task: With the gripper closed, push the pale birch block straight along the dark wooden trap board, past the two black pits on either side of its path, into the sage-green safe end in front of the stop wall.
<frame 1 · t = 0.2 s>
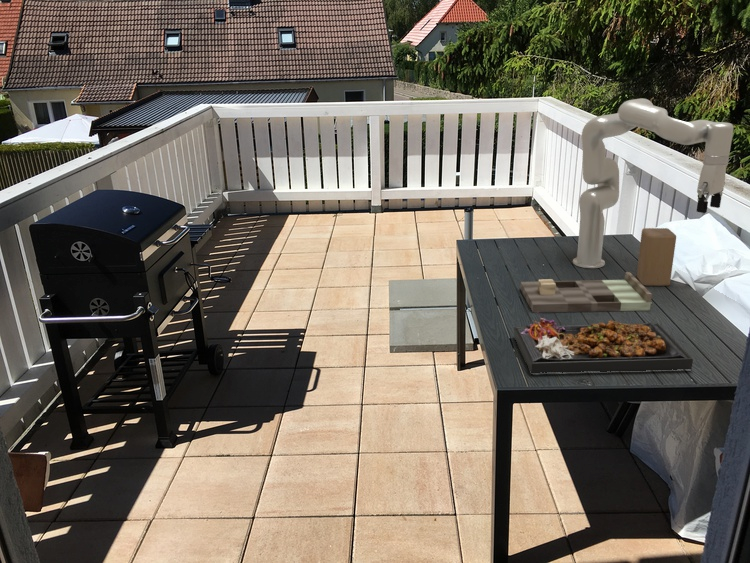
hand: (708, 209, 227), 31 cm above the table, tool pointing down, fingers open, 9 cm apart
trap board: (582, 299, 236), on the table
birch block: (546, 292, 235), point 3 cm above the table, touching trap board
food platter: (596, 355, 197), on the table
block: (652, 282, 250), on the table
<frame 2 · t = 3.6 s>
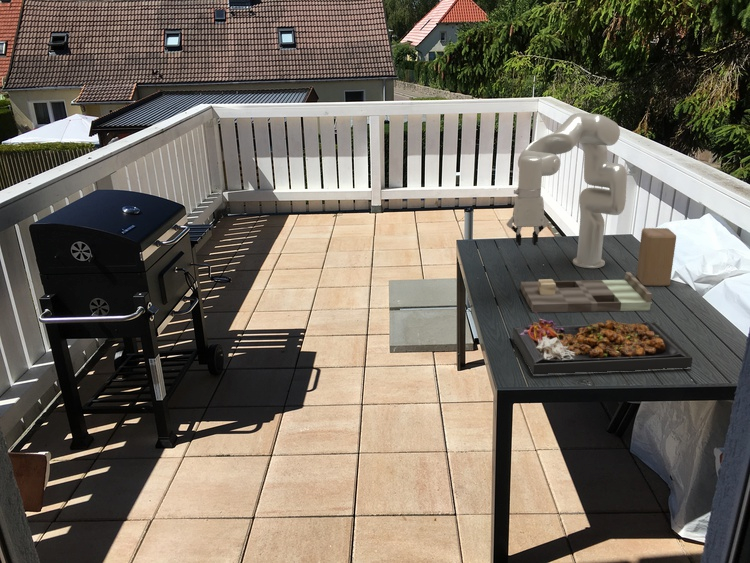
hand: (526, 243, 229), 21 cm above the table, tool pointing down, fingers open, 4 cm apart
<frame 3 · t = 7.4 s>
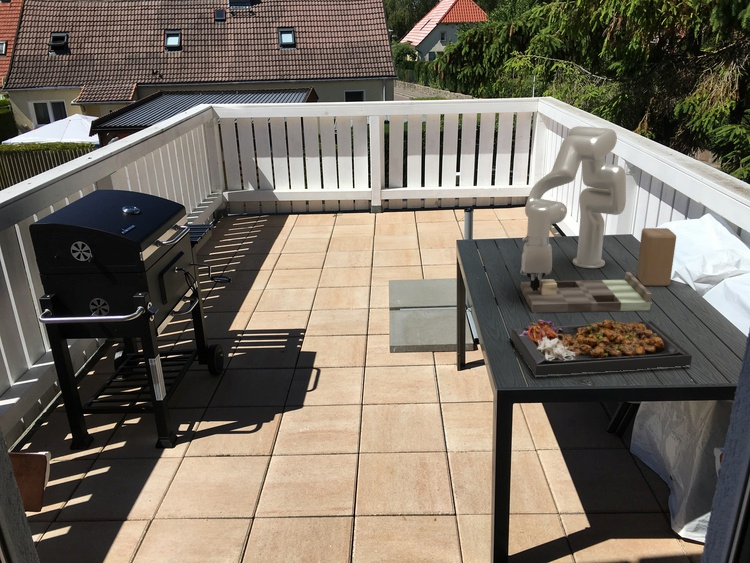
hand: (534, 289, 235), 4 cm above the table, tool pointing down, fingers closed
birch block: (547, 292, 235), point 3 cm above the table, touching gripper
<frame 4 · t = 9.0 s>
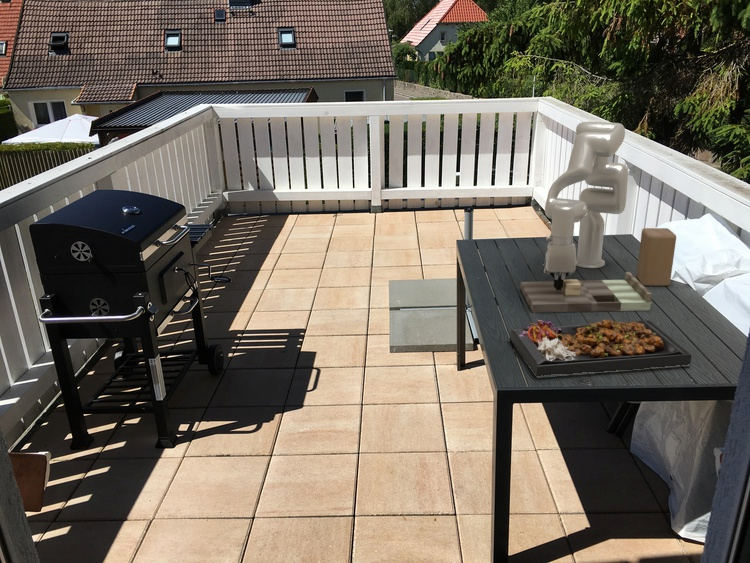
hand: (557, 288, 234), 4 cm above the table, tool pointing down, fingers closed
birch block: (571, 292, 234), point 3 cm above the table, touching gripper
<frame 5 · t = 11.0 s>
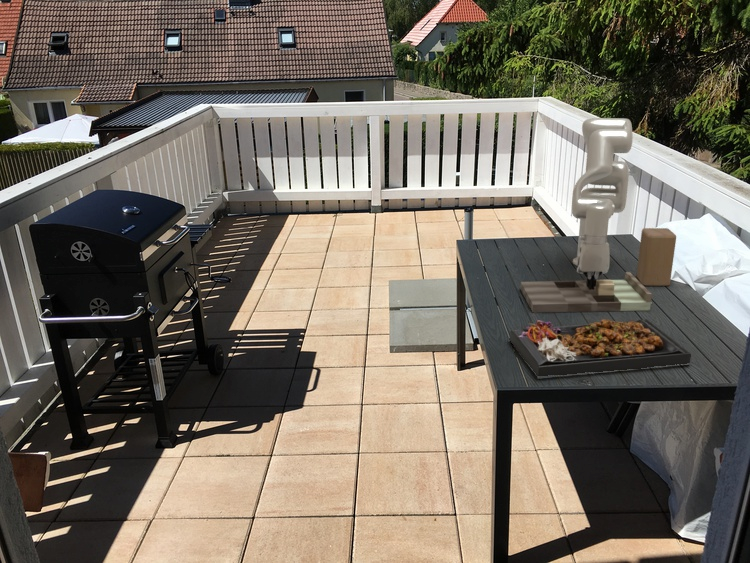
hand: (590, 288, 234), 4 cm above the table, tool pointing down, fingers closed
birch block: (604, 292, 233), point 3 cm above the table, touching gripper
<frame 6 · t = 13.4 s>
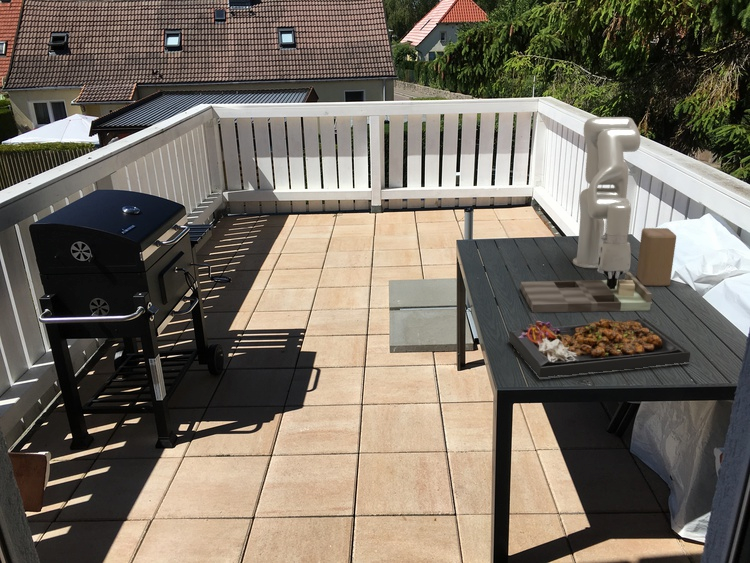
hand: (611, 287, 234), 4 cm above the table, tool pointing down, fingers closed
birch block: (625, 293, 232), point 3 cm above the table, touching gripper, trap board
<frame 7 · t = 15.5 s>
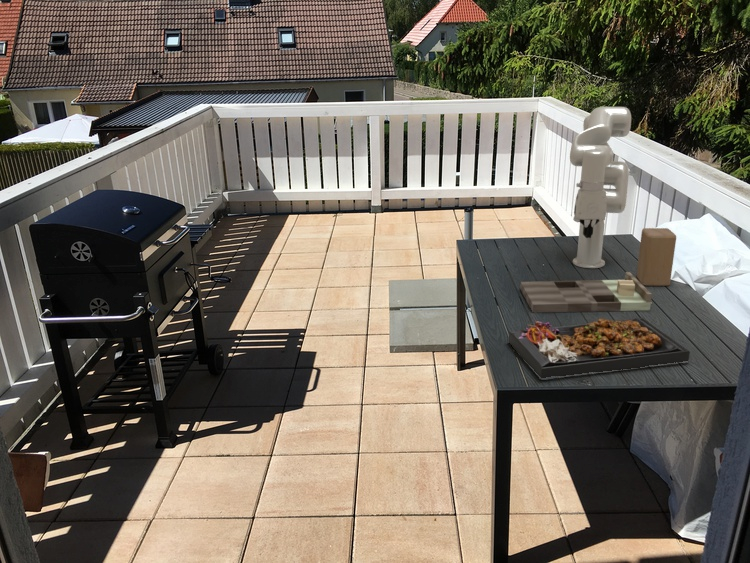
hand: (587, 236, 232), 22 cm above the table, tool pointing down, fingers closed
birch block: (625, 293, 232), point 3 cm above the table, touching trap board
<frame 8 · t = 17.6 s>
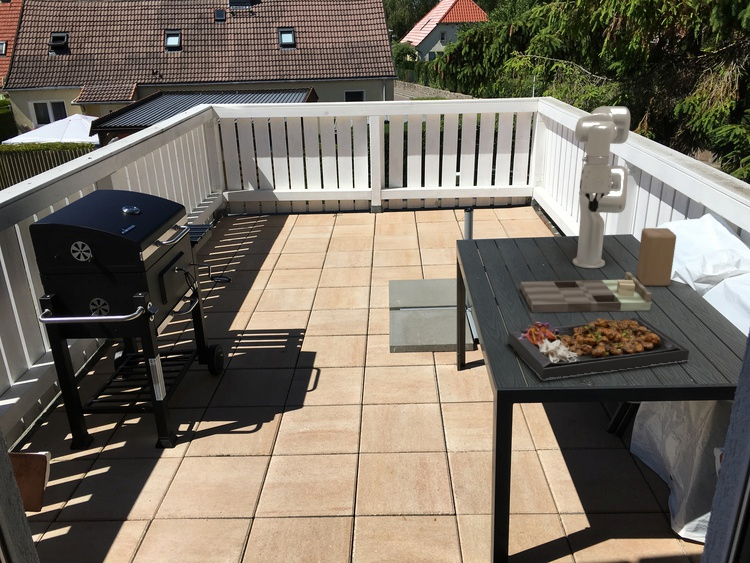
hand: (592, 211, 237), 29 cm above the table, tool pointing down, fingers closed
at the end: birch block inside the target area on the trap board (2.3 cm from its centre), point 3.0 cm above the trap board's base; birch block tilted 0°; the gripper is holding nothing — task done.
